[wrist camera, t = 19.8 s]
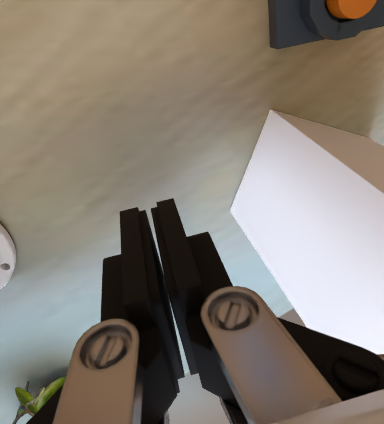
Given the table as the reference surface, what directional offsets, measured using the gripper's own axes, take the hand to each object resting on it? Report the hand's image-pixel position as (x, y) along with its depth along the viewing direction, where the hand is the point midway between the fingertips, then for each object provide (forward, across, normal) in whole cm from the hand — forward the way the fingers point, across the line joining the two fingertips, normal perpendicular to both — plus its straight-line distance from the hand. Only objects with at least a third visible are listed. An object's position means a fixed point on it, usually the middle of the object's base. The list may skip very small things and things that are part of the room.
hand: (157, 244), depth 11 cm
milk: (+22, -16, +11) cm, 30 cm away
